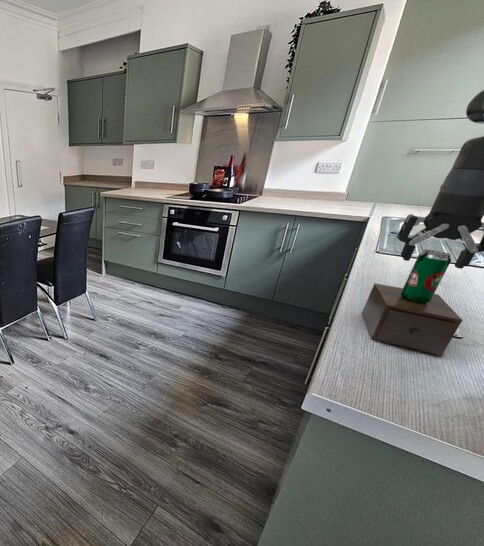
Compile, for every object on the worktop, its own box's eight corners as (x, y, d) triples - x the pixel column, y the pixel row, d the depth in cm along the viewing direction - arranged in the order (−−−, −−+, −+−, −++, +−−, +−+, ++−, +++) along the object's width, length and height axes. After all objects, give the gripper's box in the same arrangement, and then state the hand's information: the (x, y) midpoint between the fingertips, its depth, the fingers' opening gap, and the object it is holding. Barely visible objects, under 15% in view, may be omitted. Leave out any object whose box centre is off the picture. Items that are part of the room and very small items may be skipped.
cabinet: (441, 356, 70) (462, 320, 66) (371, 339, 76) (386, 304, 72) (421, 327, 81) (438, 294, 77) (361, 313, 87) (374, 283, 83)
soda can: (397, 292, 78) (418, 247, 73) (425, 298, 75) (449, 251, 71) (402, 300, 74) (424, 253, 70) (432, 306, 72) (457, 257, 67)
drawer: (443, 358, 68) (461, 327, 65) (377, 341, 74) (391, 313, 70) (422, 327, 79) (436, 300, 76) (366, 315, 85) (377, 289, 82)
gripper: (424, 190, 66) (393, 262, 72) (530, 197, 58) (485, 275, 65) (414, 187, 71) (385, 253, 78) (509, 192, 64) (469, 265, 70)
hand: (431, 263), depth 71 cm, fingers open, 8 cm apart
